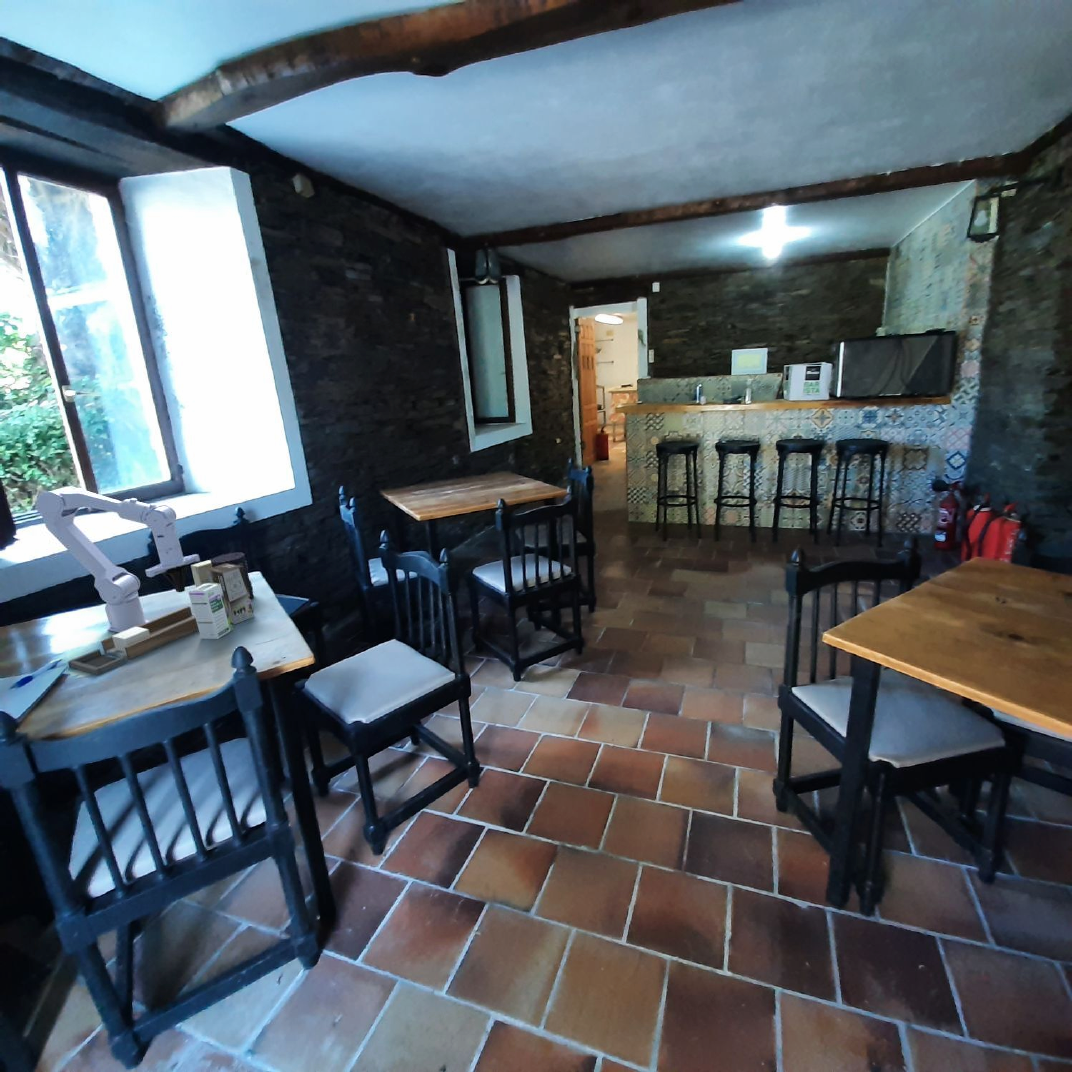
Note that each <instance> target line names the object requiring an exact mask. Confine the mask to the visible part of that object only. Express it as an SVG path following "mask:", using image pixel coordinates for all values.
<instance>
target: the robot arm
mask: <svg viewBox="0 0 1072 1072" xmlns="http://www.w3.org/2000/svg"><path fill="white" fill-rule="evenodd" d="M83 507H86V508H92V509H97V510H103V511H107V512H110V513H116V514H117V516H118V517H119V518H120V519H121V520H122V519H123V520H127V521H131V522H135V523H139V524H143V525H146V526H147V528H148V529H150V530H151V532H152V535H153V539H154V543H155V546H156V549H157V554H158V557H159V562H160V563H159V564H156V565H155V566H152V567H150V568H148V569H145V570H144V571H145V574H146V577H149V578H152V577H153V578H154V577H155V576H156V575H159V574H162V576H164V577H165V578H166V579H167V580H168V581H169V583H171V585H172V587H173V588H174V590H175V592H176V593H183V592H185V591H186V579H187V575H188V572H189V566H187V565H189V564H190V565H191V564H192V563H197V562H198V563H199V562H201V558H200V556H199V554H196V553H195V554H192V555H188V556H187V555H186V556H184V555H183V551H182V546H181V543H180V540H179V539H180V538H179V535H178V531H177V528H176V524H175V522H176V519H177V514H176V511H175V510H174V508H172V507H170V506H168V505H165V504H162V505H159V506H156V504H154V503H150V504H149V503H145V502H142V501H141V502H140V501H138V499H137V498H134V497H132V498H129V499H128V498H127V499H124V500H121V501H120V500H118V499H114V498H111V497H108V496H105V495H101V494H97V493H95V492H91V491H88V490H86V489H84V488H81V487H75V486H72V485H70V486H69V485H66V486H62V487H60V488H57V489H53V490H50V491H44V492H41V493H40V494H38V495H37V498H36V501H35V506H34V508H35V510H36V511H37V512H38V513H39V514H40V515H41V518H42V521H43V523H44V525H45V527H46V529H47V530H48V532H50V533H51V534H52V536H54V537H55V539H57V540H58V542H60V544H62V546H63V547H64V548H66V549H67V551H68V552H69V553H71V555H73V557H75V559H76V560H77V561H78V562H79V563H80V564H81V565H82V566H83V567H84V568H85V569H86V570H88V572H89V573H90V575H92V576H93V577H94V585H93V586H94V588H95V589H96V590H97V591H98V593H99V596H100V598H101V599H102V601H104V602H106V604H105V606H104V607H105V608H104V611H105V614H106V617H107V621H108V624H109V627H107V628H106V629H107V631H110V632H111V631H112V632H116V633H121V632H123V631H126V630H128V629H131V628H133V627H137V626H140V625H142V624H145V623H147V622H150V621H151V620H148V619H146V618H145V617H146V616H145V614H144V610H143V606H142V604H141V603H142V602H141V600H140V597H139V592H138V590H139V589H140V587H141V580H140V579H139V578H138V577H137V576H136V575H134V574H133V573H131V572H129V571H128V570H126V569H125V568H123V567H121V566H117V565H115V564H114V563H112V562H111V560H110V559H108V557H107V556H105V554H104V553H103V552H102V551H101V550H100V549H99V548H98V547H97V546H96V545H95V544H94V543H93V542H92V541H91V540H90V539H89V538H88V537H87V535H86V534H85V533H84V532H82V530H81V529H80V528H79V527H78V526H77V525H76V524H75V523H74V521H75V516H76V514H77V512H78V510H80V508H83Z"/></svg>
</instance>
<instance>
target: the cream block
mask: <svg viewBox="0 0 1072 1072" xmlns="http://www.w3.org/2000/svg"><path fill="white" fill-rule="evenodd" d="M111 637H112V638H113V641H114V645H115V648H116V650H120V651H124V652H126V650H125V647H126V646H128V645H131V644H133V643H136V642H138V641H140V640H143V639H145V638H147V637H150V633H149V630H148V629H144V628H140V627H133V628H131V629H128V630H126V631H123V632H121V633H119V632H117V633H116V634H113V635H111Z"/></svg>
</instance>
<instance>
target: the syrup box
mask: <svg viewBox="0 0 1072 1072" xmlns="http://www.w3.org/2000/svg"><path fill="white" fill-rule="evenodd" d="M187 593H188V596H189V600H190V604H191V608H192V611H193V615H195V618H196V621H197V625H198V628H199V629H198V632H199V635H200V638H201V639H202V640H203V639H204V640H219V639H221V638H222V637H223V636H225V635H227V634H228V633H230V632H231V631H232V632H233V630H234V629H233V626H232V623H231V622H230V618H229V614H228V610H227V607H226V603H225V599H224V595H223V591H222V588H221V584H218V583H207V584H202V585H201V586H199V587H197V588H196V587H195V588H193V589H191V590H189V591H187Z"/></svg>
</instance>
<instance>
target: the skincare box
mask: <svg viewBox="0 0 1072 1072" xmlns="http://www.w3.org/2000/svg"><path fill="white" fill-rule="evenodd" d="M190 568H191V572H192V577H193V581H194V585H195V588H197V587H199V586H201V585H202V584H207V583H210V582H209V578H208V574H207V570H208V569H211V568H212V563H211V559H209V560H208V559H207V560H205V561H199V562H198V563H197V562H196V563H194V564H190Z"/></svg>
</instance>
